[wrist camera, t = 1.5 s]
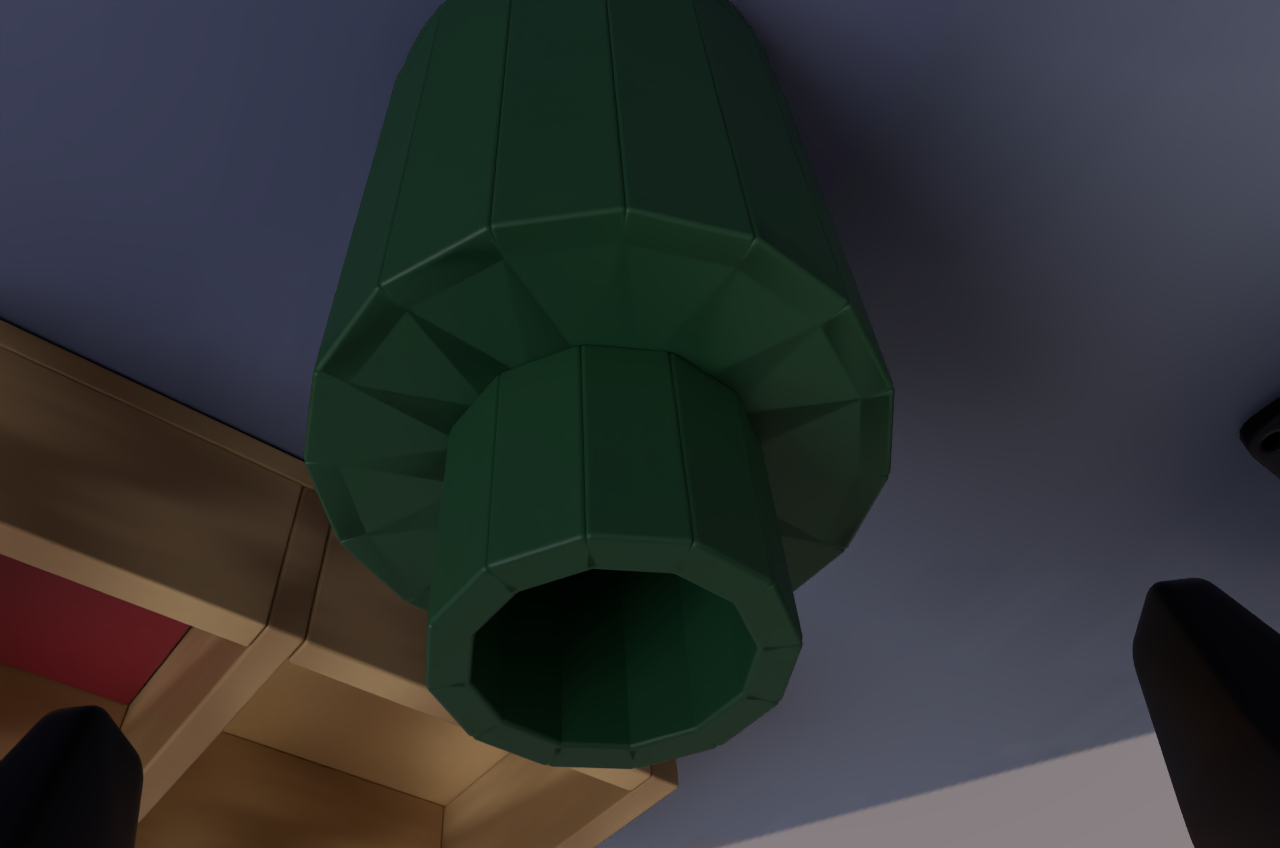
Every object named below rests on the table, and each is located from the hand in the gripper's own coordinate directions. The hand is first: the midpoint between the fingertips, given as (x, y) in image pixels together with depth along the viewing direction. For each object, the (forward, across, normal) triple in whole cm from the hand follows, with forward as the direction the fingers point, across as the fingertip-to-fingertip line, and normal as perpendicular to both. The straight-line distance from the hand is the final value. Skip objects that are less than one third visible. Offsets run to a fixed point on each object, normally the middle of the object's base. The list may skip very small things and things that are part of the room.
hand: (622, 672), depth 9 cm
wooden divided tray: (+10, +9, +9) cm, 16 cm away
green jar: (+10, 0, 0) cm, 10 cm away
